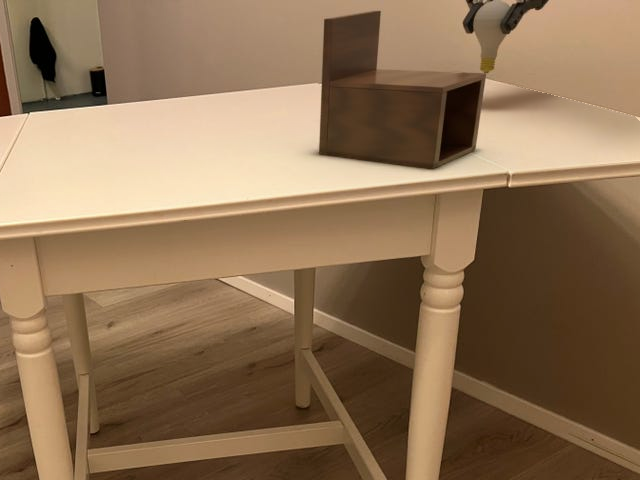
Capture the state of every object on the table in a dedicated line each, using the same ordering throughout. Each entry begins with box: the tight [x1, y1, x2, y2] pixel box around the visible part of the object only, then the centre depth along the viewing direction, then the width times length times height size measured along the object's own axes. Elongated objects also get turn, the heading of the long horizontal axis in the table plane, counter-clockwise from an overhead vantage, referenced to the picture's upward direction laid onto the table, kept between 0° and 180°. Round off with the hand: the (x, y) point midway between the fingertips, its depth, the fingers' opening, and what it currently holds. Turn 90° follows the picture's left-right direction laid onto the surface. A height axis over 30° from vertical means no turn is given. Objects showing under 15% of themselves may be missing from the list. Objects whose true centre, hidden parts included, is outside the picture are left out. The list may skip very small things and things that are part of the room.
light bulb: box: [473, 0, 511, 74], centre depth 107 cm, size 6×6×10 cm
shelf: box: [318, 10, 487, 170], centre depth 87 cm, size 16×11×16 cm
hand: (485, 29), depth 105 cm, fingers closed on light bulb, 5 cm apart
